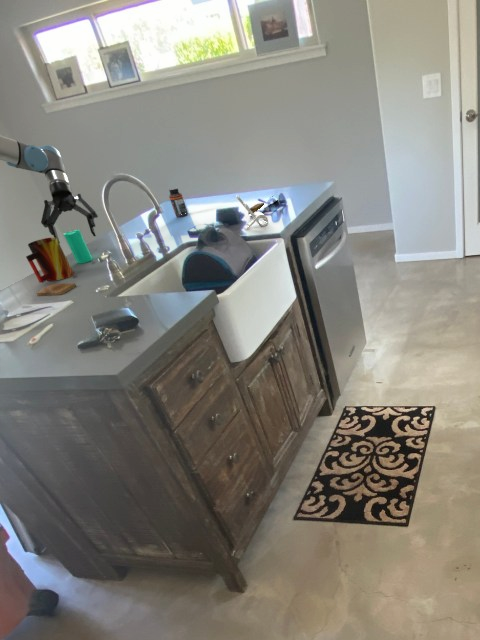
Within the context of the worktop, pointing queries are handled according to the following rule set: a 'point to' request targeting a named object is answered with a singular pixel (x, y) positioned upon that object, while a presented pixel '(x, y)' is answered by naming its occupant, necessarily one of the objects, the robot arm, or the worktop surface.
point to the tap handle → (256, 207)
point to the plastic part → (254, 216)
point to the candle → (78, 246)
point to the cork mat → (56, 289)
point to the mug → (49, 260)
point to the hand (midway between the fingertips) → (75, 237)
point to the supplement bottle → (178, 202)
